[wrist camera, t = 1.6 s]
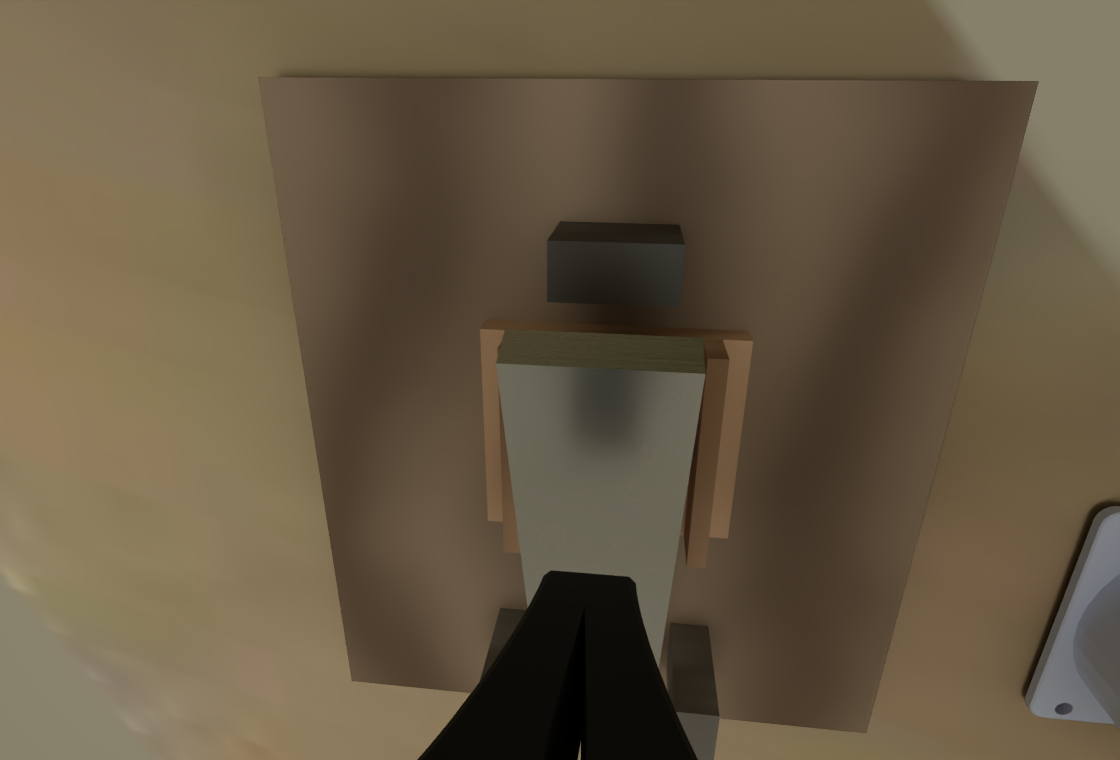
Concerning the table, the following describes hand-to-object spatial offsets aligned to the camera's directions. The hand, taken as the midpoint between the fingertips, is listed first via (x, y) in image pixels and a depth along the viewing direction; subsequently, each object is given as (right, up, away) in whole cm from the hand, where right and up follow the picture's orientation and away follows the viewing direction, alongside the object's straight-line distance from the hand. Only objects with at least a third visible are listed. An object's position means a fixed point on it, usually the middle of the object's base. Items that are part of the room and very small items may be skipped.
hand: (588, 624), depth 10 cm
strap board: (+1, +2, +10) cm, 10 cm away
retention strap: (0, -1, +5) cm, 5 cm away
